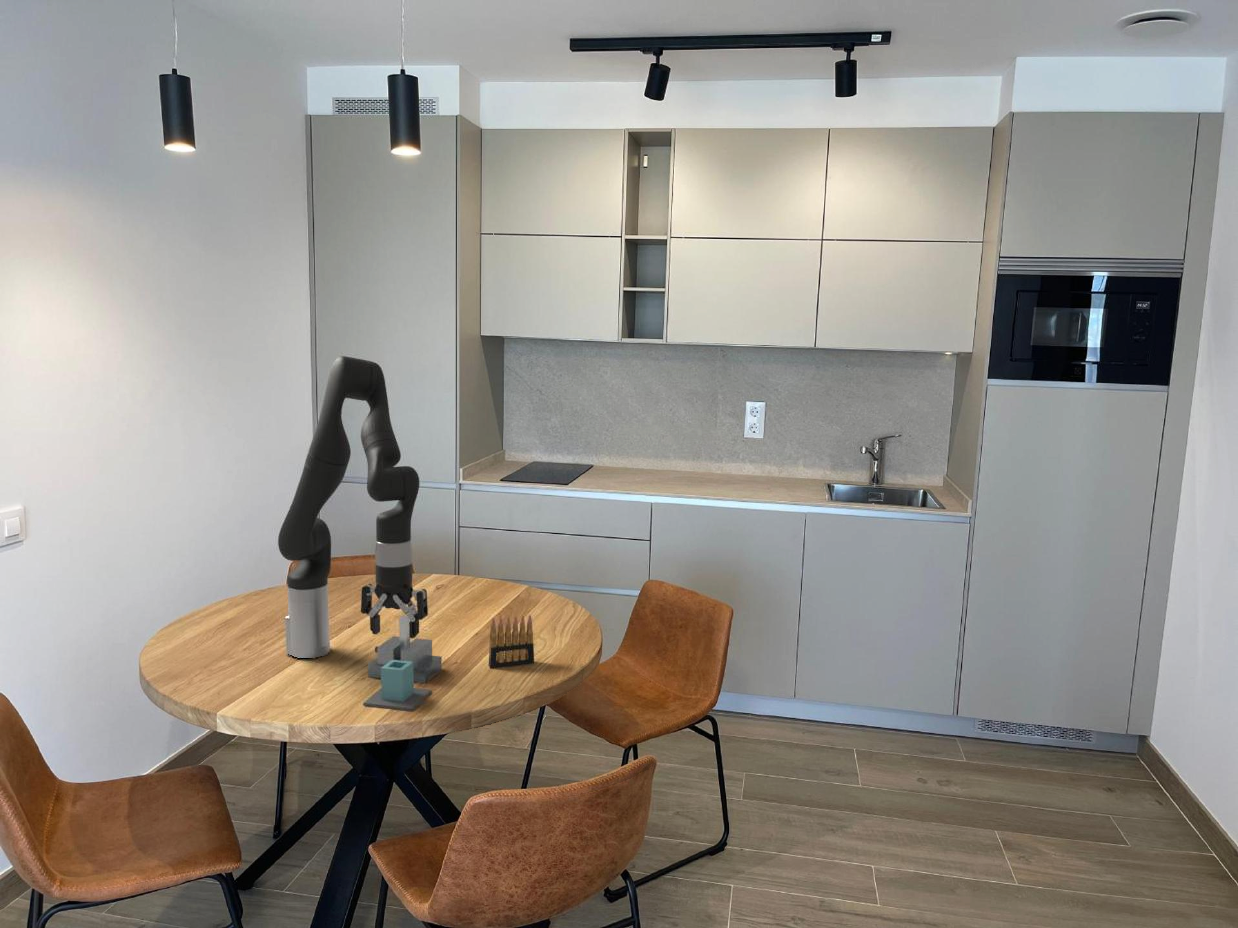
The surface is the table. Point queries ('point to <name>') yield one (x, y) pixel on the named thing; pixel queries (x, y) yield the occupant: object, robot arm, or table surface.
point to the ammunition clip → (511, 644)
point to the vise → (407, 654)
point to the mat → (406, 705)
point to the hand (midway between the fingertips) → (394, 635)
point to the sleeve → (397, 680)
